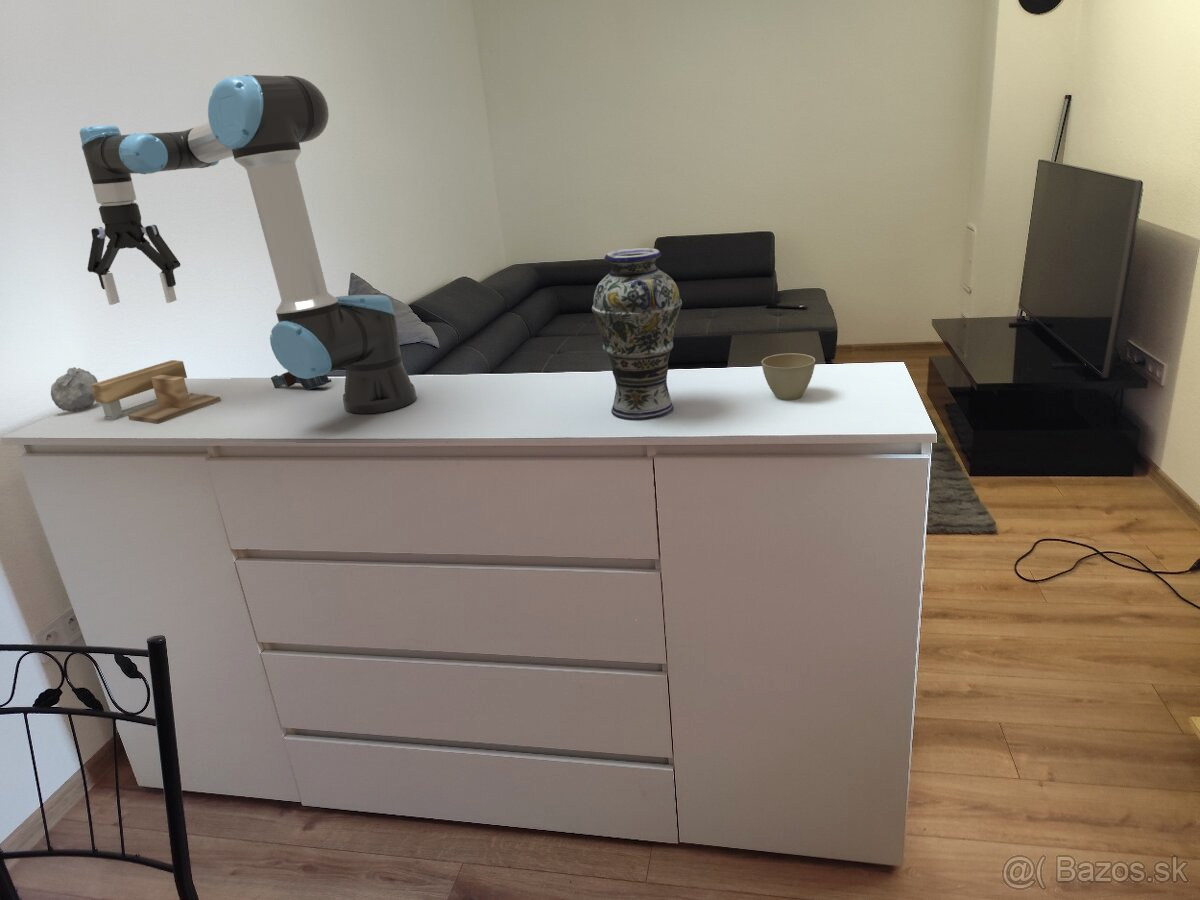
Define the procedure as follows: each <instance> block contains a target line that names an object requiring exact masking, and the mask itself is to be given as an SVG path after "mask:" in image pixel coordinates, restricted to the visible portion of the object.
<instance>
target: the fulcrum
mask: <svg viewBox="0 0 1200 900" xmlns="http://www.w3.org/2000/svg"><path fill="white" fill-rule="evenodd" d="M151 380H152V384H153V387H154V389H153V391H154V394H155V399H157V402H158V405H155V406H152V407H150V408H147V409H144V410H141V411H138V412H135V413H132V414H129V415H127V418H128V420H131V421H136V422H137V421H138V422H145V423H152V424H161V423H164V422H166V421H169V420H172V419H176V418H178V417H180V416H183V415H186V414H189V413H191V412H195V411H197V410H200V409H203V408H205V407H208V406H211V405H214V404H216V403H218V402H222V399H221V396H217V395H209V394H202V393H189V392H188V388H187V384H186V380H185V378H184V377H177V376H167V375H159V376H155V377H152V378H151Z"/></svg>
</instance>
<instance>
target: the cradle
mask: <svg viewBox="0 0 1200 900" xmlns="http://www.w3.org/2000/svg"><path fill="white" fill-rule="evenodd" d="M156 405H158V402H157V398H155V399H153V400H152V399H151V400H149V401H146V402H143V403H140V404H137V405H134V406H131V407H128V408H124V409H122V408H123V407H122V404H121V402H120V400H117V401H114V402H111V403H107V404H105V403H101V406H102V410H103V413H104V416H103V417H104V420H109V421H114V420H117V419H120V418H124V417H126V416H128V415H130V414H133V413H135V412H138V411H141V410H144V409H147V408H150V407H153V406H156Z"/></svg>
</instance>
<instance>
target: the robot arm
mask: <svg viewBox="0 0 1200 900" xmlns="http://www.w3.org/2000/svg"><path fill="white" fill-rule="evenodd" d="M207 105H208V106H207V116H208V121H207V122H205V123H202V124H200V125H196V126H194V127H192V128H189V129H186V130H181V131H169V132H149V133H145V132H144V133H143V132H142V133H141V132H140V133H131V134H121V133H122V132H121V131H120V129H119V127H118V126H116V125H96V126H95V125H94V126H83V127H80V130H79V135H80V136H79V137H80V141H81V149H82V151H83V155H84V159H85V162H86V166H87V170H88V173H89V177H90V179H91V184H92V187H93V193H94V195H95V199H96V201H95V202H96V203H97V204H100V206H99V207H98V211H99V215H100V219H101V222H102V224H104V228H103V226H100V227H95V228H91V231H90V232H91V237H92V242H91V247H90V252H89V257H88V263H87V269H86V270H87V272H89V273H94V274H96V275H97V276H98V281H99V283H100V287H101V289H102V290H105V296H106V298H107V301H108V305H109V306H113V305H115V304H118V303H121V301H120V297H119V293H118V290H117V285H116V282H115V279H114V274H113V272H111V271H110V268H111V267H112V264H113V262H114V260H115V258H116V257H117V254H118V253H119V250H122V249H135V248H136V249H137V250H139V251H141V252H142V253H143V254H144V255H145V256H146V257H147V258H148V259H149V260H150V261H152V263H153V264H155V266H157V268H159V269H160V270H161V272H159V277H160V282H161V284H162V289H163V290H162V291H163V293H164V297H165V301H166V304H170V303H172V302H173V303H174V302H176V301H177V300H178V299H177V295H176V291H175V286H176V284H177V283H176V278H175V274H174V270H175V269H177V268H180V267H181V262H180V261H179V260H178V258H177V256H175V254H174V253H173V251H172V250H171V249H170V247H169V246H168V244H167V243H166V241H165V240H164V238H162V235H161V234H160V231H159V229H158V226H157V225H156V224H152V225H147V226H143V224H142V215H141V211H140V208H139V204H138V203H137V202H135V201H136V200H137V196H136V192H135V188H134V184H133V183H134V182H133V179H132V175H131V174H140V175H148V174H155V173H158V172H168V171H177V170H187V169H188V170H189V169H205V168H210V167H213V166H216V165H218V164H219V161H222V160H225V159H228V158H232V157H233V159H234V162H236V163H237V164H238V165H240V166H241V167H243V168H244V170H245V171H246V173H247V177H248V180H249V184H250V188H251V192H252V195H253V200H254V203H255V206H256V207H255V208H256V210H257V214H258V218H259V223H260V225H261V230H262V233H263V237H264V240H265V244H266V248H267V252H268V255H269V259H270V263H271V267H272V270H273V274H274V277H275V281H276V285H277V288H278V292H279V296H280V300H281V301H280V304H279V305H278V306H277V309H276V310H275V314H276V317H277V321H278V322H277V323H276V324H275V325H273V327H272V329H271V331H270V333H271V334H270V336H269V342H270V347H271V350H272V352H273V354H274V357H275V359H276V360H277V362H278V363H279V364H280V366H282V368H283V369H285V370H286V371H287V372H289V373H291V374H292V375H294V376H296V377H299V378H304V379H309V378H313V377H317V376H323V375H326V374H327V375H328V374H329V373H331V372H334V371H336V370H338V369H341V368H344V367H345V368H344V369H345V378H344V379H345V380H344V393H343V395H342V402H343V408H344V410H345V411H346V412H349V413H352V414H359V415H361V414H362V415H363V414H364V415H365V414H366V415H368V414H379V413H383V412H390V411H394V410H398V409H402V408H404V407H407V406H409V405H411V404H412V403H414V402H415V401H416V399H417V393H416V387H415V385H414V384H413V383H412V382H411V379H410V377H409V375H408V372H407V371H406V368H405V367H404V365H403V359H402V353H401V352H402V351H401V348H400V339H399V335H398V334H399V333H398V327H397V322H396V321H397V320H396V313H395V311H394V307H393V302H392V300H391V299H390V298H389V296H387V295H384V294H383V295H382V294H353V295H352V294H351V295H340V296H333V295H332V294H331V293H329V292H328V289H327V284H326V280H325V276H324V271H323V268H322V266H321V265H322V264H321V262H320V261H321V260H320V256H319V251H318V249H317V246H316V245H317V244H316V240H315V236H314V232H313V228H312V225H311V222H310V217H309V213H308V209H307V204H306V200H305V196H304V194H303V189H302V185H301V181H300V177H299V173H298V169H297V164H296V163H297V162H296V161H297V160H298V158H299V156H300V154H301V153H302V149H301V147H300V146H301V145H300V143H306V142H311V141H313V140H314V139H316V138H318V137H319V136H320V135H322V133H323V132H324V131H325V129H326V127H327V125H328V123H329V118H330V117H329V106H328V103H327V100H326V97H325V96H324V94H323V93H322V91H321V90H320V88H318V87H317V86H316V85H315V84H314V83H312V82H311V81H309V80H308V79H305V78H302V77H300V76H295V75H264V74H263V75H259V74H258V75H256V74H241V75H235V76H234V75H233V76H227V77H224V78H222V79H221V80H219V81H218V82H217V83H216V84H215V86H214V87H213V88H212V91H211V95H210V96H209V100H208V104H207ZM144 236H147V238H148V239H149V241H150V242H151V243H150V242H149V241H148V239H146V237H144ZM106 237H107V238H108V239H109V241H108V243H107V245H106V249H105V250H104V248H105V244H106V243H105V242H106ZM152 245H153V246H154V247H153V246H152Z"/></svg>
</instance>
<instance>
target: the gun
mask: <svg viewBox="0 0 1200 900" xmlns="http://www.w3.org/2000/svg"><path fill="white" fill-rule="evenodd" d="M270 379H271V382H272V384H273V386H274V388H275V389H277V388H278V389H279V387H282V386H285V387H286V388H289V387H292V386H294V385H295V384H299V385H301V386H302V387H303V389H304V390H305V391H308V390H312V389H315V388H319V387H322V386H326V384H328V383H332V379H331V378H329V376H328V374H326V375H323V376H317V377H313V378H309V379H304V378H299V377H296V376H294V375H292V374H291V373H289V372H288V371H286V372H284V373H281V375H277V374H275V375H273V376H271V377H270Z"/></svg>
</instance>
